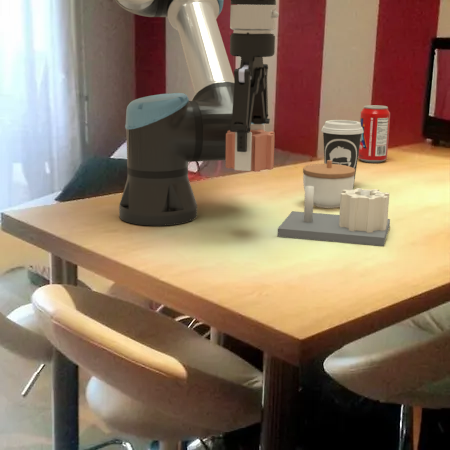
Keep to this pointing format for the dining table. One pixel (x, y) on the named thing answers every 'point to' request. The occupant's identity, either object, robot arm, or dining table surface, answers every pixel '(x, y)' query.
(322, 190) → the lidded jar
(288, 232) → the gear board
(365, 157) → the soda can
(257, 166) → the gear
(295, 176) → the dining table surface
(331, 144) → the coffee cup
